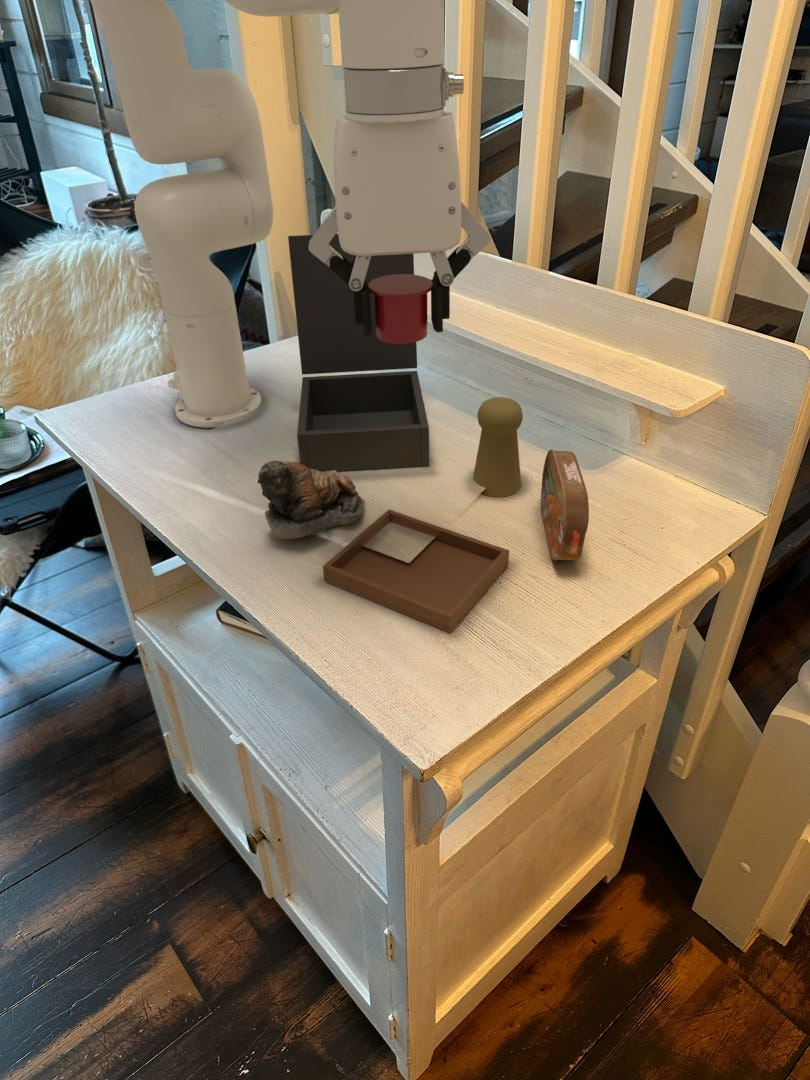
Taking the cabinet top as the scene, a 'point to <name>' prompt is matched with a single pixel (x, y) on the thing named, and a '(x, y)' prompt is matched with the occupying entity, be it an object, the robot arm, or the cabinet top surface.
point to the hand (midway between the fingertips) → (402, 326)
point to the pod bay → (363, 422)
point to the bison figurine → (307, 499)
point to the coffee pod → (401, 307)
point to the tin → (564, 505)
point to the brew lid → (341, 314)
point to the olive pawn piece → (498, 447)
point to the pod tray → (420, 572)
